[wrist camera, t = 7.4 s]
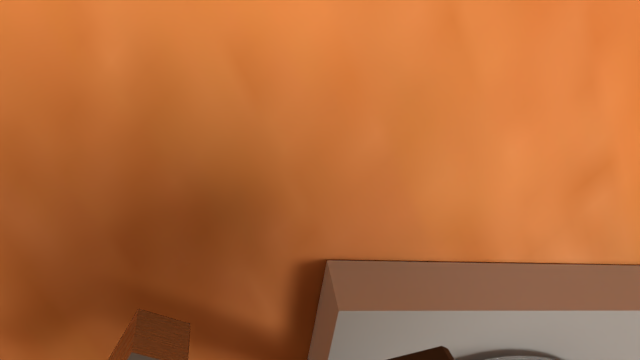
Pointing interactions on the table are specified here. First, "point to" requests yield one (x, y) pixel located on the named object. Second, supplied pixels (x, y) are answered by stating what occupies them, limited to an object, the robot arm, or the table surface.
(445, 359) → the robot arm
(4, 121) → the table surface
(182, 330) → the grey t-handle
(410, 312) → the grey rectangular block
